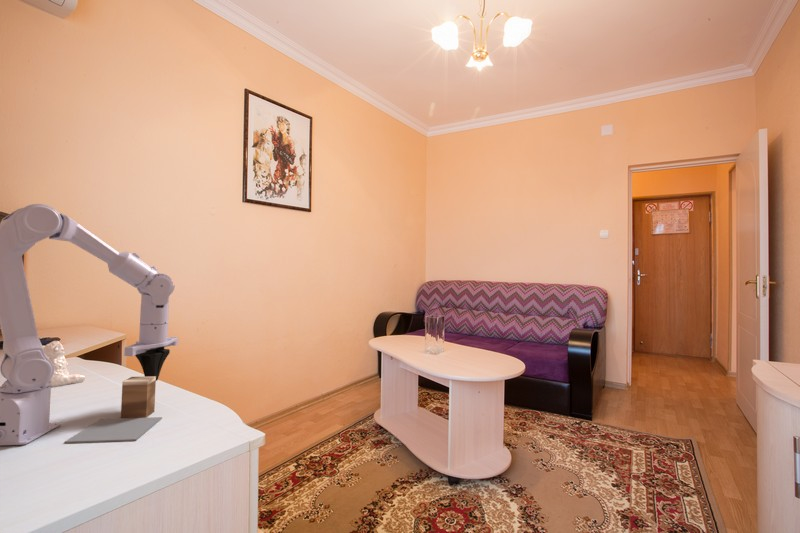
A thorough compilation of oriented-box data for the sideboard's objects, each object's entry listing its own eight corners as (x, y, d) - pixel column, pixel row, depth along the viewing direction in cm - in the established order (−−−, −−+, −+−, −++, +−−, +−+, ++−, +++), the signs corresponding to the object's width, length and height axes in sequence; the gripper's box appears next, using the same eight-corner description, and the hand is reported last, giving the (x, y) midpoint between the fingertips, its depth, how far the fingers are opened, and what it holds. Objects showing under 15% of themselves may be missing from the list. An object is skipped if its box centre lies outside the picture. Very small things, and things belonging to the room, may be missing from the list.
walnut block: (146, 418, 85) (147, 381, 85) (120, 418, 84) (122, 381, 85) (154, 411, 89) (155, 376, 89) (130, 412, 88) (131, 376, 88)
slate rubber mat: (136, 440, 74) (136, 439, 74) (64, 443, 72) (64, 441, 72) (162, 418, 85) (162, 417, 85) (100, 420, 83) (100, 418, 83)
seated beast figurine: (86, 381, 110) (88, 339, 111) (54, 390, 102) (57, 344, 102) (59, 378, 112) (61, 337, 112) (25, 387, 104) (27, 342, 104)
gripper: (161, 319, 101) (158, 372, 101) (113, 326, 86) (110, 388, 86) (186, 320, 100) (184, 373, 100) (142, 328, 86) (139, 390, 85)
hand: (151, 380), depth 93 cm, fingers closed
